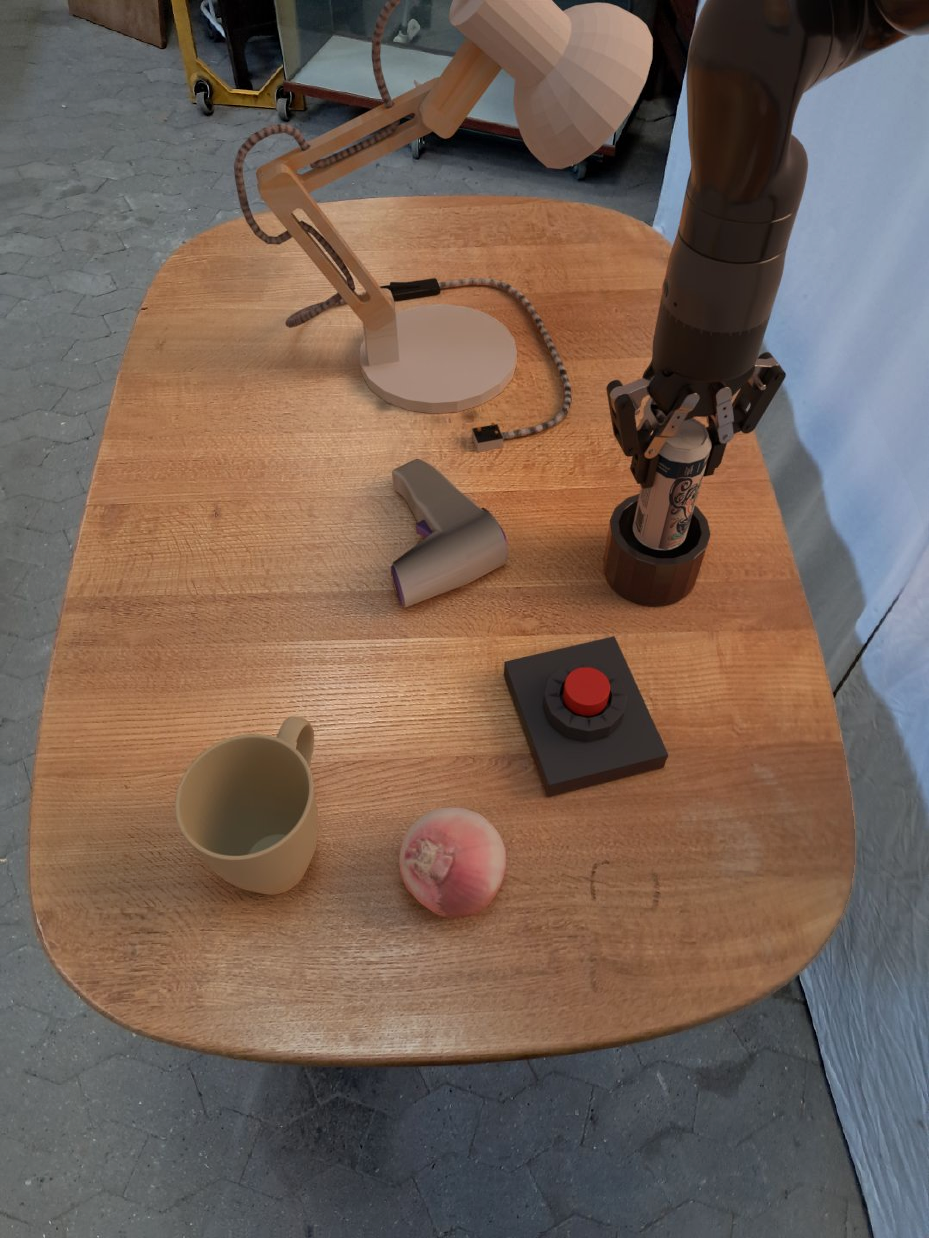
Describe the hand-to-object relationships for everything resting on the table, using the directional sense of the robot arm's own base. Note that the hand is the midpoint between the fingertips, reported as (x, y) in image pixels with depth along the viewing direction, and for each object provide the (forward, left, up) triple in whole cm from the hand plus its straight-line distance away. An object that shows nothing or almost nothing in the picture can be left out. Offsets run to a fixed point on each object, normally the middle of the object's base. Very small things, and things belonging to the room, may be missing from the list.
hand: (673, 474), depth 76 cm
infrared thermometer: (+18, +13, -13) cm, 26 cm away
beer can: (0, 0, -8) cm, 8 cm away
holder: (0, 0, -13) cm, 13 cm away
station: (-6, +17, -13) cm, 22 cm away
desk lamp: (+36, -8, -13) cm, 39 cm away
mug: (+3, +42, -13) cm, 44 cm away
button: (-6, +17, -9) cm, 20 cm away
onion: (-8, +34, -13) cm, 37 cm away
